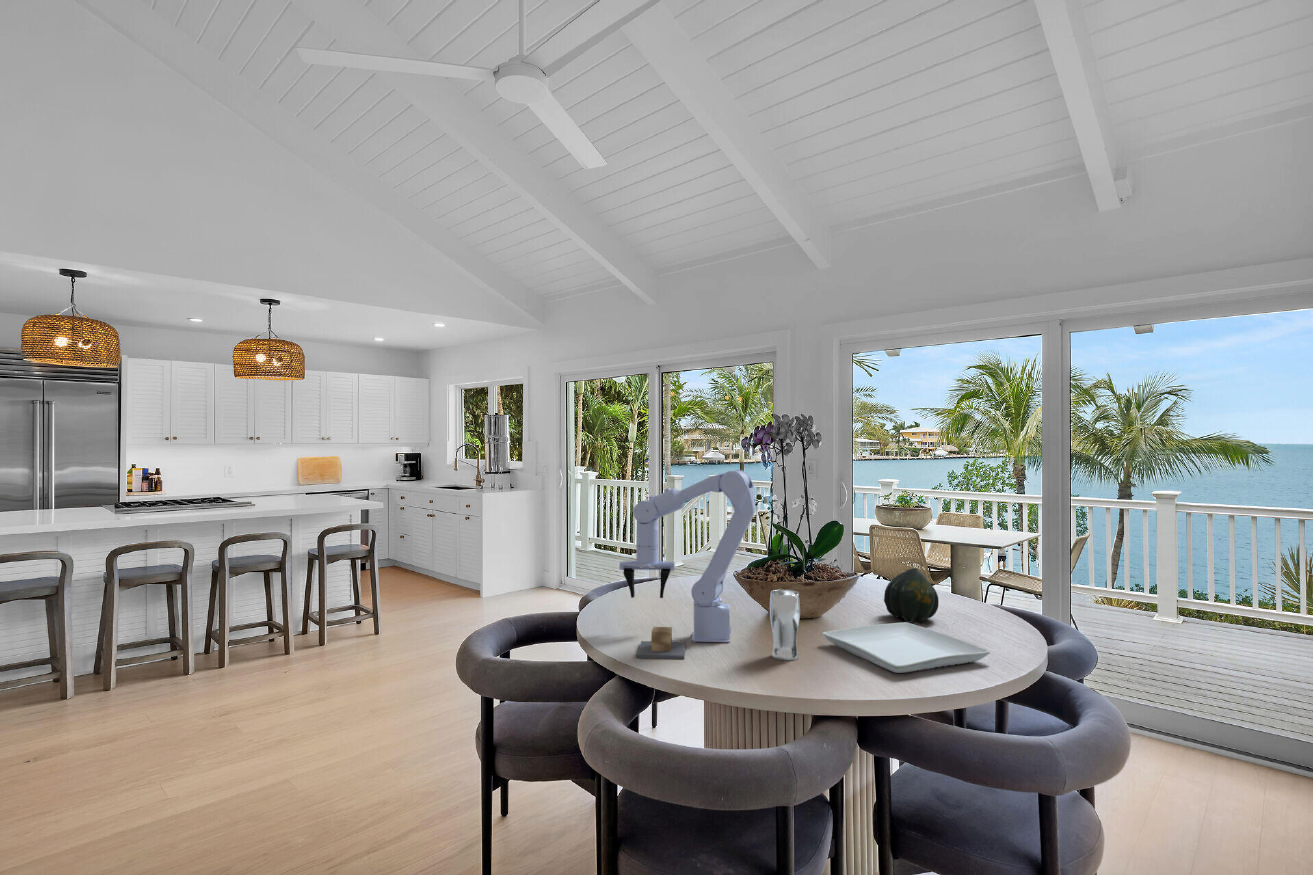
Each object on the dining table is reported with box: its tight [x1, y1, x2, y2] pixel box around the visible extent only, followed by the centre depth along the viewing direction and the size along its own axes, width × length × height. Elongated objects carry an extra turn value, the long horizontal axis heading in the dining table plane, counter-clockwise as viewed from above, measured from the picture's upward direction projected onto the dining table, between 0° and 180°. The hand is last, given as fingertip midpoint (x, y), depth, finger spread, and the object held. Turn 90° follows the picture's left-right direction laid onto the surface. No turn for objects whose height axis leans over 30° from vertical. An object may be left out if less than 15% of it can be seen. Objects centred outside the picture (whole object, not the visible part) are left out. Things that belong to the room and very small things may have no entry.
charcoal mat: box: [636, 640, 686, 660], centre depth 160 cm, size 11×11×1 cm
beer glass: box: [769, 589, 801, 662], centre depth 156 cm, size 7×7×15 cm
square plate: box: [821, 621, 991, 674], centre depth 157 cm, size 27×27×4 cm
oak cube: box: [650, 626, 673, 651], centre depth 160 cm, size 4×4×4 cm
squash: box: [883, 567, 939, 623], centre depth 190 cm, size 14×15×15 cm
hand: (647, 597), depth 176 cm, fingers open, 7 cm apart
